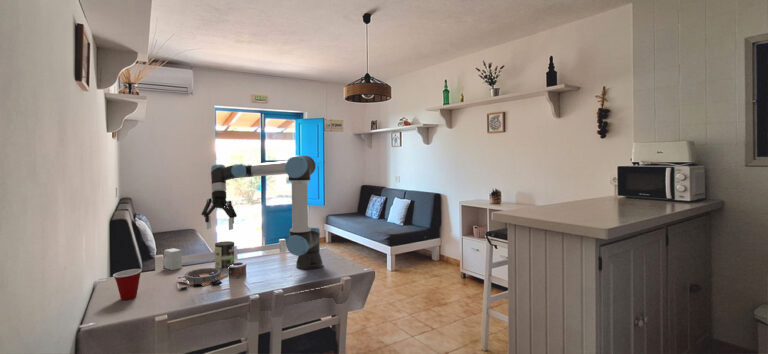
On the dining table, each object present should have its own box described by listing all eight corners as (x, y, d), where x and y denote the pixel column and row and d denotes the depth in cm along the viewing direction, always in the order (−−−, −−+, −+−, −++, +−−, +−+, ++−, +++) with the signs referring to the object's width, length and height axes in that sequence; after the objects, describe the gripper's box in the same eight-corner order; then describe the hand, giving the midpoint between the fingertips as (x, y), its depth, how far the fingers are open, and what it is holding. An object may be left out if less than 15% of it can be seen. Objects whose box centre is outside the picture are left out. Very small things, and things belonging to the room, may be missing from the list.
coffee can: (237, 265, 224) (237, 241, 223) (230, 270, 214) (229, 245, 213) (219, 264, 224) (219, 241, 224) (211, 269, 214) (211, 245, 213)
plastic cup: (122, 293, 176) (121, 268, 175) (147, 293, 177) (146, 268, 176) (107, 302, 165) (106, 275, 164) (133, 302, 166) (133, 275, 165)
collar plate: (228, 276, 204) (228, 269, 203) (204, 286, 187) (204, 279, 187) (202, 272, 209) (202, 266, 208) (176, 282, 192) (176, 275, 192)
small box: (182, 268, 216) (181, 249, 216) (172, 270, 212) (171, 251, 211) (174, 265, 221) (174, 247, 220) (164, 268, 216) (164, 249, 215)
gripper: (233, 195, 226) (235, 231, 220) (193, 190, 206) (194, 229, 200) (242, 192, 223) (243, 228, 217) (202, 187, 202) (203, 226, 196)
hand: (220, 229), depth 208 cm, fingers open, 13 cm apart
